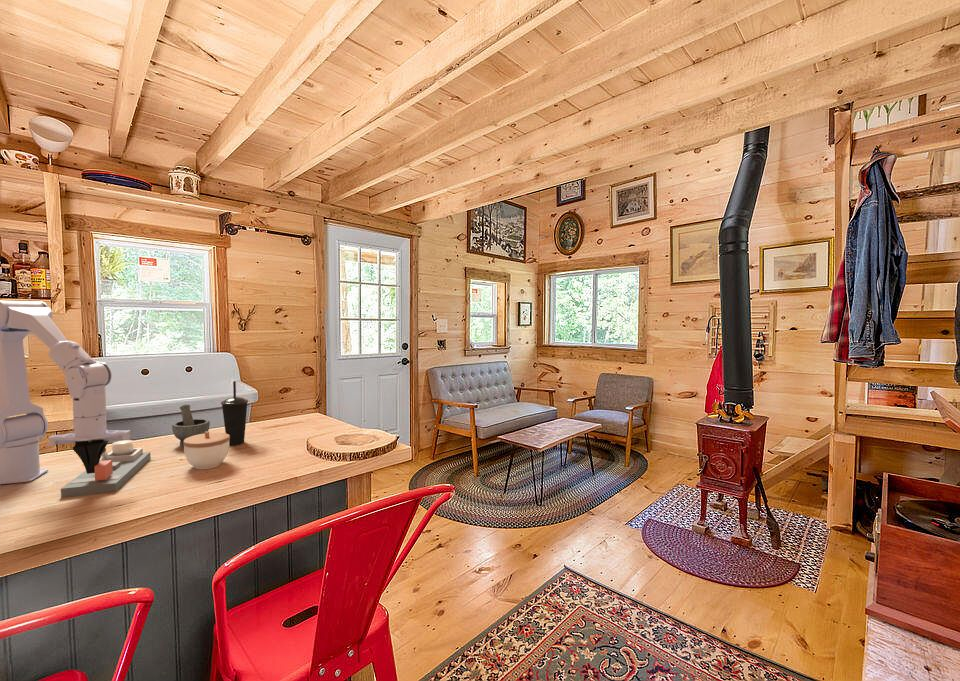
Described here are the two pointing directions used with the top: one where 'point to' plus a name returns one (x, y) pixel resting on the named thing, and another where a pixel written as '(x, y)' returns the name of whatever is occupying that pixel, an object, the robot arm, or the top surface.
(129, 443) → the push button
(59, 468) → the top surface
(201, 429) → the mortar and pestle
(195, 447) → the lidded jar
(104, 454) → the toggle lever
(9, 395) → the robot arm
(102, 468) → the slide paddle
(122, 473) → the panel
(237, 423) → the drinking cup
